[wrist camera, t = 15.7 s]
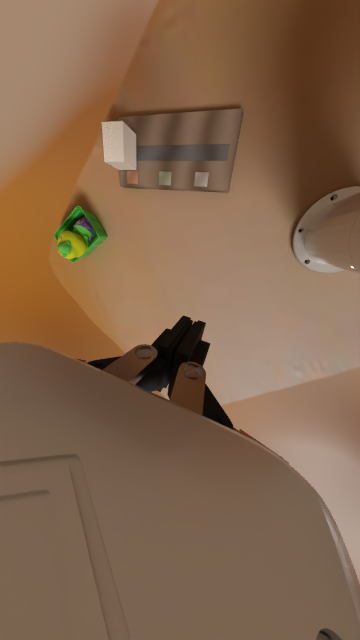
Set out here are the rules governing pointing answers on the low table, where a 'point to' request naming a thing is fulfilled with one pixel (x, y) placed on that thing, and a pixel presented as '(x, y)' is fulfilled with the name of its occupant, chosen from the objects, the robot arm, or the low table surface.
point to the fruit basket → (79, 235)
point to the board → (184, 150)
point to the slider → (119, 145)
